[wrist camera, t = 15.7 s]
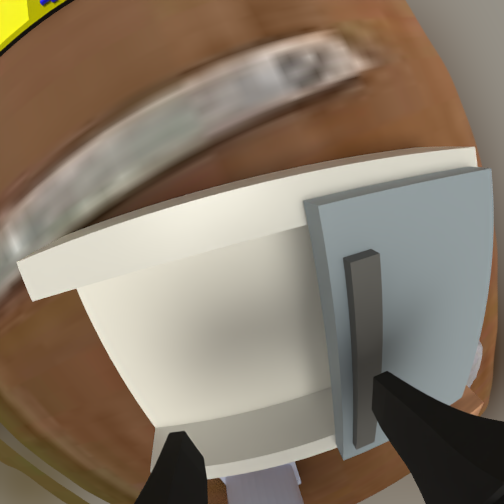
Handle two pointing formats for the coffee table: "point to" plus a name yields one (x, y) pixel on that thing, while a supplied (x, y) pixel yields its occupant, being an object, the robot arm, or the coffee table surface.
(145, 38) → the coffee table surface
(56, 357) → the coffee table surface
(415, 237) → the slide cover
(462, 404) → the block
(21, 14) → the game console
